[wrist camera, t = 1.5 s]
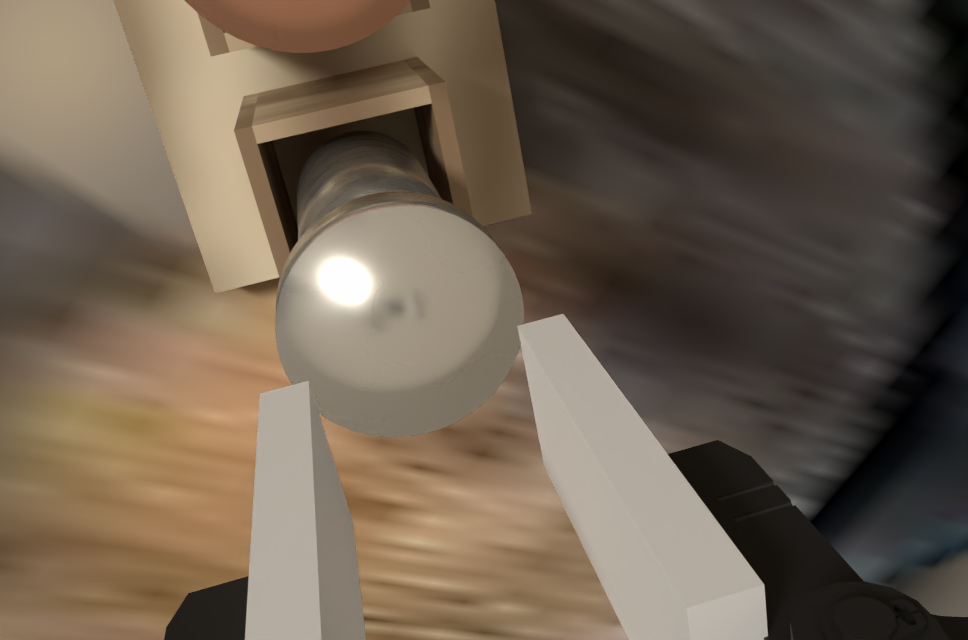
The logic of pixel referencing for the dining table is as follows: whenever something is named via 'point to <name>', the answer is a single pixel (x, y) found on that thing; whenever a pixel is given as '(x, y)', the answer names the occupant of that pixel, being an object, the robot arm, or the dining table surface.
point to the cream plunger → (392, 294)
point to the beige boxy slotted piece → (322, 119)
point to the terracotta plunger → (299, 21)
